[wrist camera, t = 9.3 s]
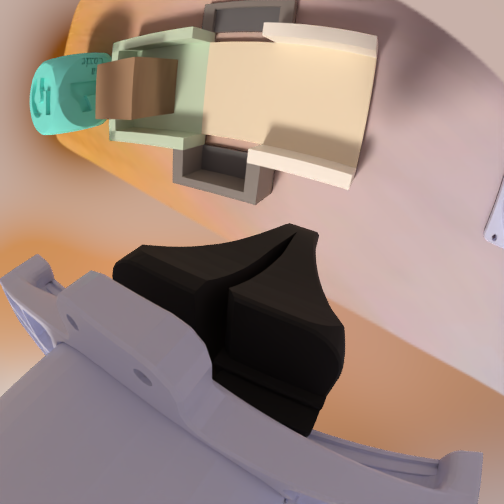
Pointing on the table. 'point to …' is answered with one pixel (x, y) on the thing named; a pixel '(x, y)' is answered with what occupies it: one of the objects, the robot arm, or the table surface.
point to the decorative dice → (66, 93)
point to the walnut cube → (135, 88)
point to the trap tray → (258, 99)
